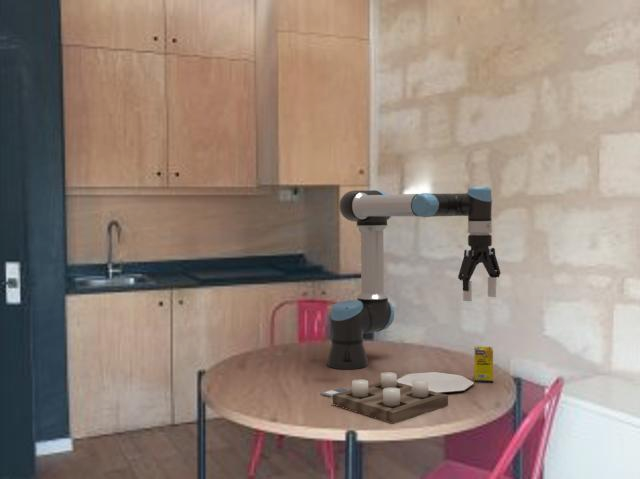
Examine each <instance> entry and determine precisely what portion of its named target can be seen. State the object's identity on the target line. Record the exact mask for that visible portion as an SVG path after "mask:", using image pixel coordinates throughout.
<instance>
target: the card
mask: <svg viewBox="0 0 640 479" xmlns="http://www.w3.org/2000/svg"><path fill="white" fill-rule="evenodd" d="M349 390H350V389H348V388H345V387H338V388H334V389H329V390H326V391H322V392H320V395H321V394H323V395H325V396H324V397H327V396H329V397H328V398H330V397H332V398H331V399H333V395H334V394H338V393H341V392H345V391H349ZM323 395H322V396H323Z"/></svg>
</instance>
